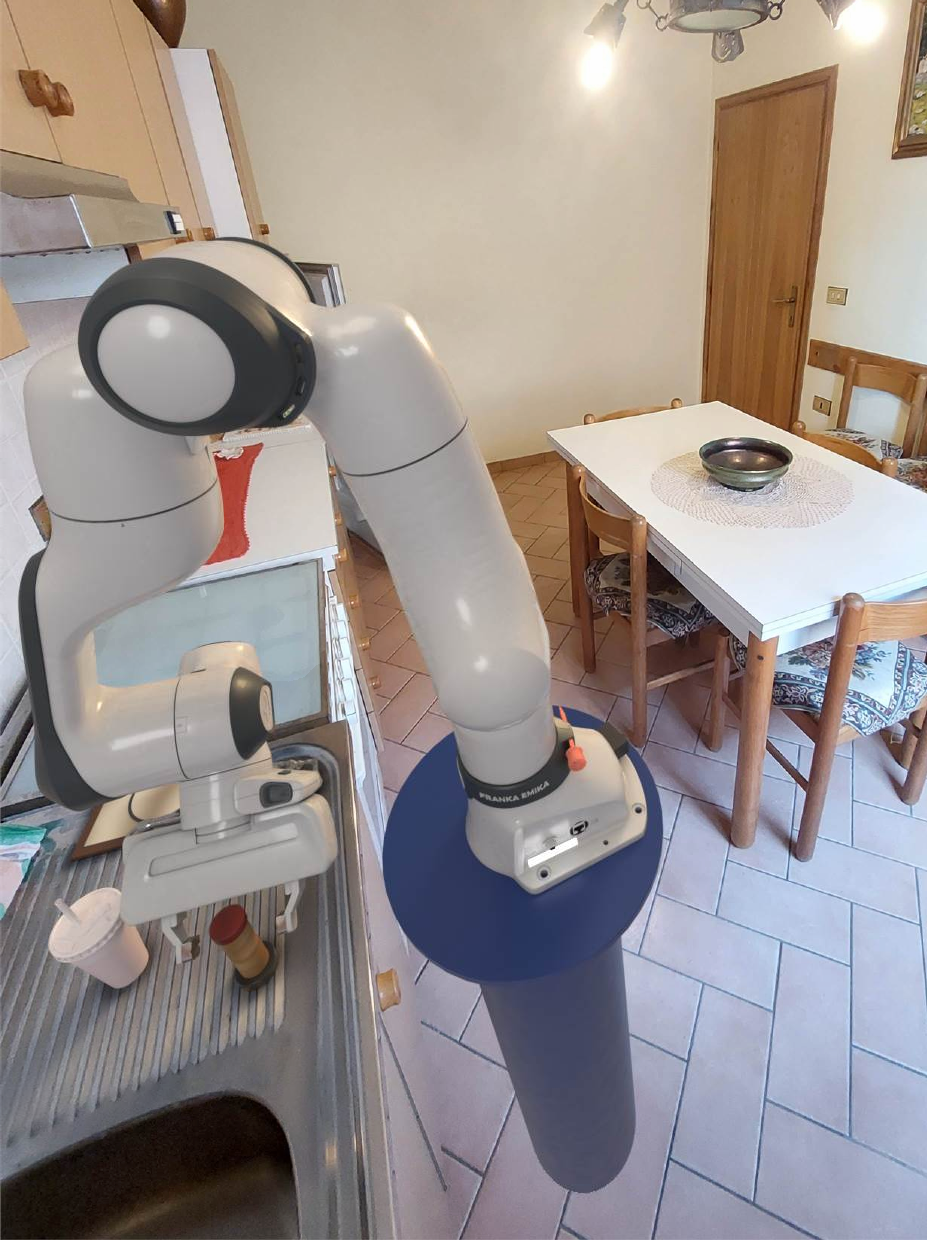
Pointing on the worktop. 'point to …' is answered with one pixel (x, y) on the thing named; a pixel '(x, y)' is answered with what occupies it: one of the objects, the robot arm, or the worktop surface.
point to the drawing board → (124, 819)
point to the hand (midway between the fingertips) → (238, 945)
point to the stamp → (244, 947)
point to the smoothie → (99, 939)
